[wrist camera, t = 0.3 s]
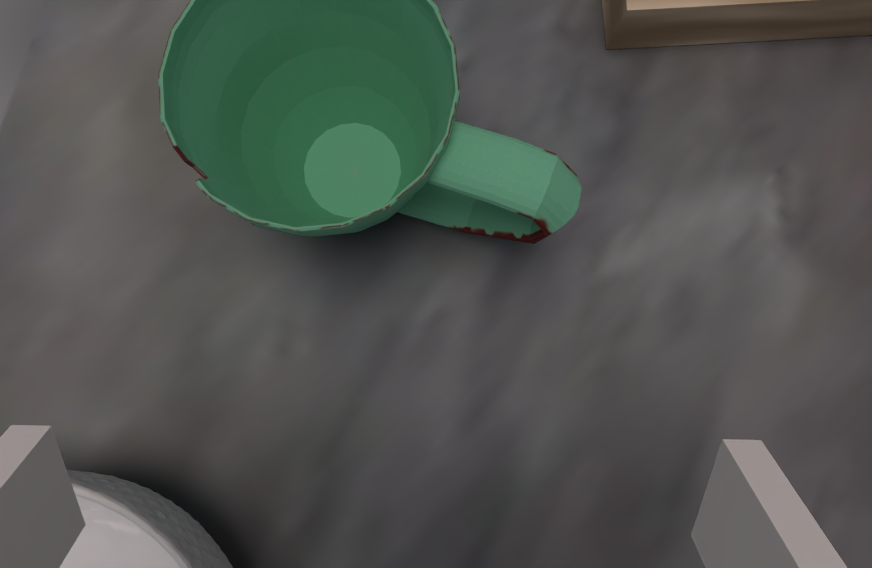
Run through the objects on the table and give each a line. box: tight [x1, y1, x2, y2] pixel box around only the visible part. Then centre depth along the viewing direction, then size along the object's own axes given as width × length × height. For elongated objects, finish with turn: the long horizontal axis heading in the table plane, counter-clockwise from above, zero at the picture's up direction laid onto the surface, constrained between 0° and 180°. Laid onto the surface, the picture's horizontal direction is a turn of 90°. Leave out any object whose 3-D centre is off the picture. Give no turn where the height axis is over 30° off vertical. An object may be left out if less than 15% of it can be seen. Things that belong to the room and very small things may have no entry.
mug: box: [158, 0, 581, 244], centre depth 25 cm, size 15×10×10 cm
